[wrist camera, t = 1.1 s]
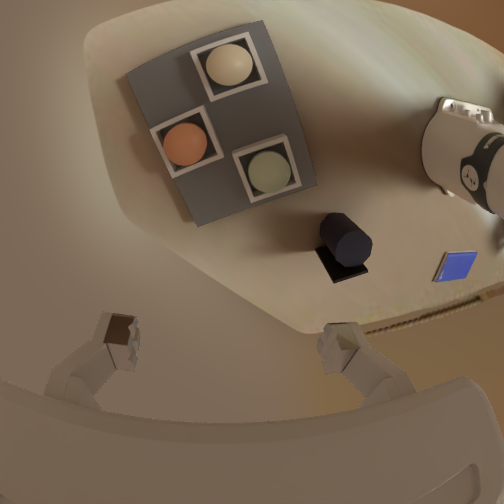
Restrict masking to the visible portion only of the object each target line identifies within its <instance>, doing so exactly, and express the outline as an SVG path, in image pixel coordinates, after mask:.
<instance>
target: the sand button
mask: <svg viewBox="0 0 504 504" xmlns="http://www.w3.org/2000/svg"><path fill="white" fill-rule="evenodd" d="M252 66H253V62H252V58H251V56H250V54H249V53H248V52H247V51H246V50H245V49H244V48H242V47H240V46H238V45H234V44H227V45H222V46H219V47H217V48H216V49H214V50H213V51H212V52H211V53H210V55H209V56H208V58H207V61H206V69H207V73H208V75H209V76H210V77H211V78H212V79H213V80H214V81H215V82H217V83H219V84H221V85H226V86H231V85H236V84H239V83H241V82H242V81H244V80H245V79H246V78H247V77H248V76H249V74H250V73H251V70H252Z"/></svg>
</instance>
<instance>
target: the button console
mask: <svg viewBox="0 0 504 504" xmlns="http://www.w3.org/2000/svg"><path fill="white" fill-rule="evenodd" d="M227 44H234V45H238V46H240V47H242V48H244V49H245V50H246V51H247V52H248V53H249V54H250V56H251V58H252V62H253V66H252V70H251V73H250V74H249V76H248V77H247V78H246V79H245V80H244V81H242V82H241V83H239V84H236V85H231V86H226V85H221V84H219V83H217V82H215V81H214V80H213V79H212V78H211V77H210V76H209V75H208V73H207V69H206V61H207V58H208V56H209V55H210V53H211V52H212V51H213V50H214V49H216V48H217V47H219V46H222V45H227ZM126 77H127V79H128V81H129V84H130V86H131V88H132V91H133V93H134V95H135V97H136V100H137V102H138V104H139V106H140V109H141V111H142V113H143V115H144V118H145V120H146V122H147V124H148V126H149V129H150V130H149V131H150V133H151V135H152V137H153V139H154V141H155V144H156V146H157V148H158V150H159V152H160V154H161V156H162V158H163V160H164V163H165V165H166V167H167V169H168V171H169V173H170V175H171V177H172V179H174V181H175V183H176V185H177V187H178V189H179V191H180V193H181V195H182V197H183V199H184V201H185V203H186V205H187V207H188V209H189V211H190V213H191V215H192V217H193V219H194V221H195V223H196V225H197V227H199V226H201V225H204V224H207V223H209V222H212V221H215V220H217V219H220V218H223V217H226V216H228V215H231V214H234V213H237V212H239V211H242V210H245V209H248V208H251V207H254V206H256V205H259V204H262V203H265V202H268V201H271V200H274V199H277V198H280V197H283V196H286V195H289V194H292V193H295V192H298V191H301V190H304V189H307V188H310V187H313V186H316V185H317V181H316V177H315V173H314V169H313V165H312V162H311V158H310V154H309V151H308V147H307V144H306V140H305V137H304V134H303V130H302V127H301V124H300V121H299V117H298V114H297V111H296V108H295V105H294V102H293V99H292V96H291V93H290V90H289V87H288V84H287V81H286V78H285V76H284V73H283V70H282V67H281V65H280V62H279V59H278V57H277V54H276V52H275V49H274V46H273V44H272V41H271V39H270V36H269V34H268V32H267V29H266V27H265V24H264V22H263V20H261V21H257V22H253V23H249V24H245V25H242V26H238V27H235V28H231V29H228V30H225V31H222V32H219V33H216V34H213V35H210V36H207V37H205V38H202V39H199V40H197V41H194V42H191V43H189V44H187V45H184V46H182V47H179V48H177V49H175V50H172V51H170V52H168V53H166V54H164V55H162V56H159V57H157V58H155V59H153V60H151V61H149V62H147V63H145V64H143V65H141V66H140V67H138V68H136V69H134V70H132V71H130V72H129V73H127V74H126ZM184 122H191V123H195V124H197V125H199V126H200V127H201V128H202V129H203V130H204V131H205V133H206V136H207V147H206V150H205V153H204V155H203V156H202V158H201V159H200V160H199V161H197V162H196V163H194V164H191V165H187V166H182V165H177V164H175V163H173V162H172V161H170V160H169V159H168V158H167V156H166V154H165V152H164V148H163V143H164V139H165V136H166V135H167V133H168V132H169V131H170V130H171V129H172V128H174V127H175V126H176V125H178V124H181V123H184ZM264 150H272V151H276V152H278V153H279V154H281V155H282V156H283V157H284V159H285V160H286V161H287V162H288V164H289V166H290V170H291V175H290V179H289V181H288V183H287V185H286V186H285V187H284V188H282V189H281V190H279V191H277V192H274V193H265V192H261V191H259V190H258V189H256V188H255V187H254V186H253V185H252V183H251V181H250V178H249V174H248V165H249V162H250V160H251V159H252V157H253V156H254V155H255V154H257V153H259V152H261V151H264Z"/></svg>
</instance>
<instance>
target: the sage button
mask: <svg viewBox="0 0 504 504" xmlns="http://www.w3.org/2000/svg"><path fill="white" fill-rule="evenodd" d="M248 174H249V178H250V181H251V183H252V185H253V186H254V187H255V188H256V189H258V190H259V191H261V192H265V193H274V192H277V191H279V190H281V189H282V188H284V187H285V186H286V185H287V183H288V181H289V179H290V175H291V170H290V166H289V164H288V162H287V161H286V160H285V159H284V157H283V156H282V155H281V154H279V153H278V152H276V151H272V150H264V151H261V152H259V153H257V154H255V155H254V156H253V157H252V159H251V160H250V162H249V165H248Z"/></svg>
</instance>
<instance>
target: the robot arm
mask: <svg viewBox="0 0 504 504" xmlns="http://www.w3.org/2000/svg"><path fill="white" fill-rule="evenodd" d="M450 105H451V106H450ZM422 160H423V165H424V168H425V171H426V173H427V175H428V176H429V178H430V179H431V180H432V181H433V182H435V183H436V184H438V185H440V186H441V187H442V188H443V189H444V191H445V193H446V194H447V195H449V196H454V195H457V196H459V197H460V198H462V199H464V200H466V201H468V202H469V203H471V204H473V205H477V204H479V205H480V206H481V207H482V208H483V209H485V210H487V211H489V212H490V213H492V214H497V215H498V216H499V217H501V218H502V219H503V220H504V126H503V125H502V124H501V123H499V122H496V121H494V117H493V114H492V112H491V110H490V109H489V108H487V107H484V106H481V105H477V104H473V103H469V102H464V101H460V100H455V99H450V98H445V97H444V98H442V99H441V101H440V103H439V106H438V110H437V112H436V114H435V115H434V117H433V118H432V119H431V121H430V122H429V124H428V126H427V128H426V130H425V133H424V136H423V141H422ZM137 324H138V320H137V317H136V316H132V315H125V314H118V313H110V312H104V311H103V312H102V313H101V314H100V317H99V319H98V322H97V325H96V328H95V331H94V334H93V336H92V339H91V341H89V340H88V341H86V342H85V343H84V344H83V345H81V346H80V347H79V348H77V349H76V350H75V351H74V352H73V353H71V354H70V355H69V356H67V357H66V358H65V359H64V360H63V361H61V362H60V363H59V364H58V365H56V366H55V367H54V368H53V369H51V372H50V375H49V378H48V381H47V384H46V387H45V390H44V393H43V394H39V393H37V392H34V391H31V390H28V389H26V388H23V387H20V386H18V385H15V384H13V383H10V382H8V381H6V380H3V379H1V378H0V504H504V440H503V437H502V434H501V430H500V427H499V425H498V422H497V419H496V417H495V414H494V412H493V409H492V407H491V405H490V403H489V400H488V398H487V396H486V394H485V393H484V391H483V390H482V388H481V387H480V386H478V385H477V384H476V383H474V382H473V381H471V380H470V379H469V378H467V377H465V376H459V377H456V378H454V379H452V380H449V381H447V382H444V383H442V384H439V385H436V386H433V387H431V388H428V389H425V390H422V391H419V392H416V391H415V389H414V386H413V384H412V382H411V380H410V378H409V376H408V374H407V373H406V372H405V371H403V370H402V369H401V368H400V367H398V366H397V365H396V364H394V363H393V362H392V361H390V360H389V359H387V358H386V357H385V356H383V355H382V354H381V353H380V352H378V351H377V350H375V349H374V348H372V347H371V348H370V346H369V344H368V342H367V340H366V338H365V336H364V334H363V332H362V330H361V328H360V326H359V324H358V323H357V322H347V323H345V322H344V323H327V324H326V325H325V327H324V333H323V334H322V335H320V337H319V339H318V344H317V348H318V352H319V355H320V356H321V357H323V358H324V359H323V361H322V364H323V367H324V370H325V373H326V374H329V373H330V374H331V373H342V374H343V375H344V376H345V377H346V378H347V379H348V380H349V381H350V382H351V383H352V384H353V385H354V386H355V387H356V388H357V389H358V390H359V391H360V392H361V393H362V394H363V396H364V397H365V398H366V399H365V400H364V401H363V402H362V403H361V404H360V406H359V407H360V408H358V409H353V410H348V411H343V412H338V413H333V414H326V415H320V416H313V417H306V418H297V419H289V420H277V421H263V422H243V423H207V422H185V421H171V420H161V419H152V418H144V417H136V416H130V415H123V414H118V413H112V412H107V411H102V410H101V407H100V406H99V404H98V403H97V401H96V400H95V398H94V397H93V396H94V395H95V394H96V393H97V391H98V390H99V389H100V388H101V387H102V386H103V385H104V383H106V381H107V380H108V379H109V378H110V377H111V376H112V375H113V373H114V372H115V371H116V369H117V370H125V371H135V368H136V363H137V356H136V352H138V351H139V346H140V331H139V329H138V328H137Z"/></svg>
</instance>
